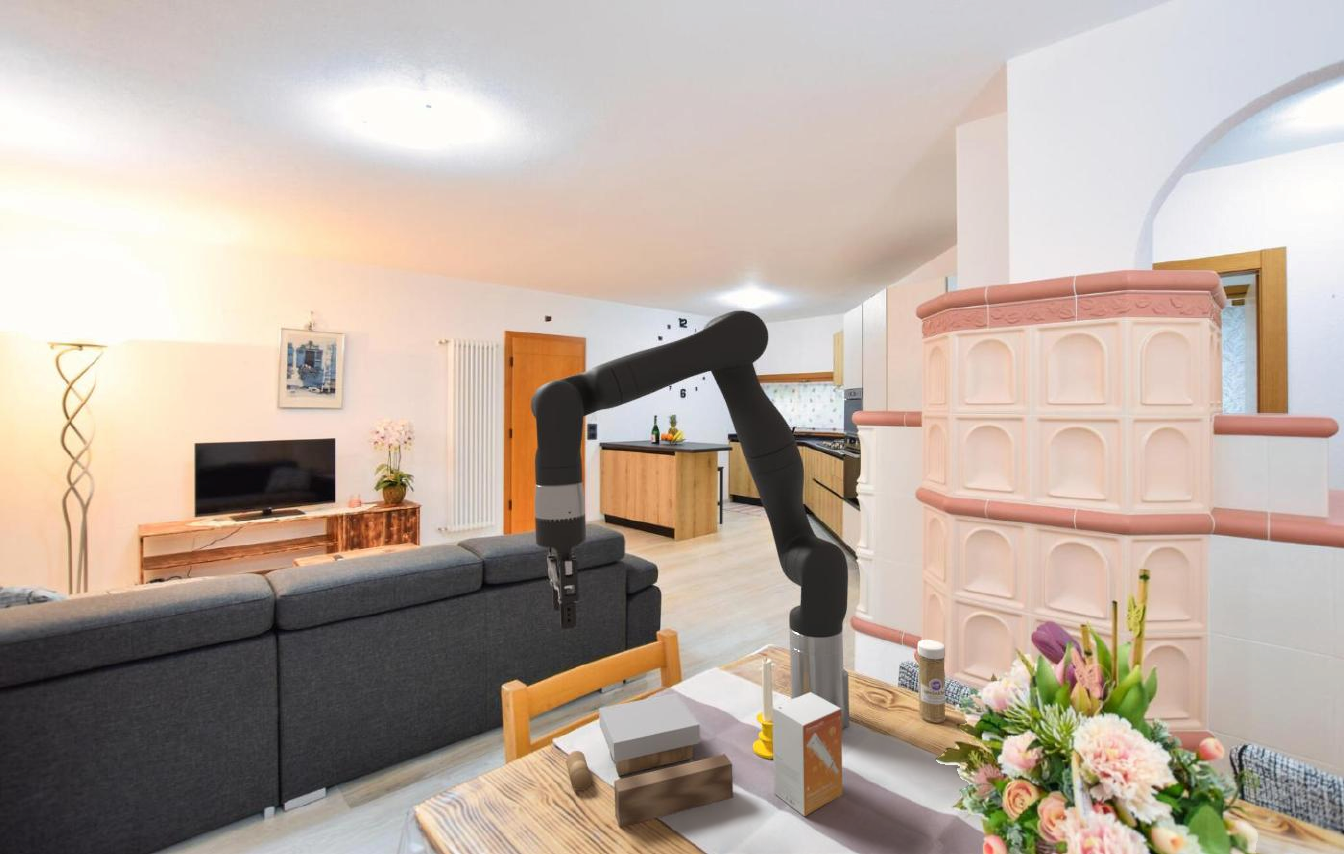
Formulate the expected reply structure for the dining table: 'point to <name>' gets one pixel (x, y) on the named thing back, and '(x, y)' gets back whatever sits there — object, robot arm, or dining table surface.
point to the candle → (766, 714)
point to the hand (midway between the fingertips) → (564, 618)
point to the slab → (648, 727)
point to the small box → (807, 752)
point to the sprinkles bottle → (931, 681)
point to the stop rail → (672, 789)
